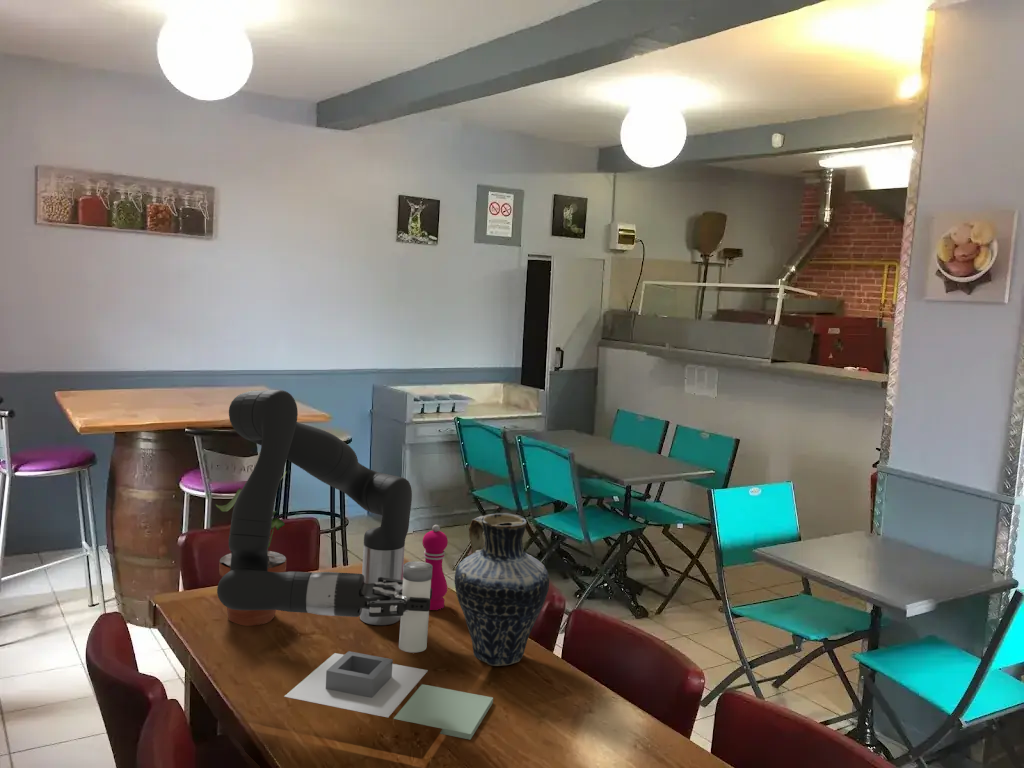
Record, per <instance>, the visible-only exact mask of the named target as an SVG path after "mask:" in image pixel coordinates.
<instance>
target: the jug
mask: <svg viewBox="0 0 1024 768" xmlns="http://www.w3.org/2000/svg"><path fill="white" fill-rule="evenodd" d="M526 527H527V519H526V518H525V517H524V516H521V515H518V514H513V513H511V512H496V513H491V514H490V513H489V514H485V515H480V516H477V517H475V518H471V522H470V524H469V527H468V536H469V540H470V541H469V542H470V546H471V554H470V555H468V556H466V557H464V559H462V560H461V561H460V562H459V564H458V565H457V567H456V570H455V573H454V587H455V593H456V597H457V601H458V604H459V606H460V608H461V611H462V612H463V613H462V614H463V616H464V620H465V623H466V626H467V628H468V629H467V630H468V633H469V636H470V639H471V643H472V652H473V657H475V658H476V659H477V660H479V661H481V662H483V663H487V665H488V666H494V667H501V666H509V665H513V664H516V663H519V662H520V661H521V660H522V658H523V655H524V654H525V650H526V646H527V644H528V643H527V642H528V639H529V636H530V634H531V632H532V629H533V628H534V625H535V623H536V621H537V618H538V617H539V615H540V613H541V611H542V609H543V607H544V604H545V601H546V598H547V596H548V592H549V589H550V575H549V571H548V570H547V568H546V566H545V565H544V564H543V563H542V562H541V561H540V560H539V559H537V558H535V557H534V556H533V555H530V554H528V553H527V552H525V549H524V545H523V537H524V535H525V530H526ZM483 534H484V536H483Z"/></svg>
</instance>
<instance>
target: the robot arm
mask: <svg viewBox="0 0 1024 768" xmlns="http://www.w3.org/2000/svg"><path fill="white" fill-rule="evenodd" d="M297 405H298V404H297V402H296V399H295V398H294V396H293V395H292V394H290V392H288V391H285V390H282V389H268V390H264V389H263V390H249V391H246V392H242V393H240V394H239V395H237V396H236V397H234V398H233V400H232V401H231V402H230V405H229V408H228V417H229V422H230V424H231V426H232V428H233V430H234V431H235V432H236V434H238V435H239V436H240V437H241V438H244V439H245V440H248V441H250V442H253V443H254V444H257V445H259V446H260V452H259V455H258V459H257V461H256V464H255V466H254V468H253V470H252V472H251V474H250V475H249V477H248V479H247V480H246V482H245V484H244V485H243V486H242V489H241V492H240V493H239V495H238V497H237V500H236V502H235V504H234V505H233V507H232V509H233V510H232V512H231V513H232V514H231V521H230V528H229V536H228V549H229V551H230V553H232V556H231V566H230V572H228V573H226V574H225V575H224V576H223V577H222V576H221V579H220V580H219V582H218V584H217V587H216V588H217V589H216V593H217V597H218V600H219V601H220V603H221V604H222V605H223V606H224V607H226V608H227V607H228V608H230V609H233V610H276V611H282V612H289V613H301V614H302V613H303V614H305V613H306V614H307V613H308V614H313V615H318V616H332V617H350V618H352V617H353V618H358V617H359V620H361V621H362V622H364V623H366V624H368V625H374V626H387V625H393V624H395V623H398V622H399V621H400V619H401V616H403V613H404V612H408V610H409V611H426V612H427V611H429V610H430V600H431V598H432V588H431V589H430V599H429V598H418V597H410V598H409V597H405V596H402V588H403V565H404V564H405V548H406V546H405V544H406V538H407V536H408V535H407V534H408V532H409V527H410V517H411V512H412V511H411V509H412V500H413V494H412V493H413V492H412V486H411V484H410V482H409V480H408V479H407V478H405V477H402V476H397V475H393V474H387V473H383V472H379V471H375V470H373V469H370V468H368V467H367V466H364V465H363V464H361V463H360V462H359V460H358V456H357V454H356V452H355V450H354V449H353V448H352V447H351V446H350V445H349V444H347V443H346V442H345V441H344V440H342V439H340V438H339V437H337V436H336V435H334V434H333V433H332V432H331V433H330V432H328V431H326V430H323V429H321V428H318V427H315V426H311V425H308V424H304V423H303V422H302V423H301V422H298V415H299V414H298V406H297ZM287 460H288V461H289V462H290V463H291V464H294V465H295V466H296V467H299V468H300V469H301V470H303V471H305V472H306V473H307V474H309V475H311V476H313V477H314V478H315V479H317V480H319V481H320V482H322V483H324V484H326V485H328V486H330V487H332V488H333V489H336V490H339V491H341V492H343V493H344V494H346V495H347V496H348V497H349V498H350V499H352V500H353V502H355V503H356V504H358V506H360V508H362V509H364V510H365V511H367V512H369V513H371V514H376V515H380V516H381V523H380V526H376V527H371V528H369V529H368V530H366V531H365V532H364V534H363V535H364V536H363V546H362V547H363V550H362V567H361V568H362V569H361V573H352V572H338V571H337V572H334V571H320V572H319V571H318V572H309V571H286V572H268V551H269V550H268V549H269V548H268V544H269V541H270V538H271V533H272V532H271V525H272V518H274V516H273V511H275V510H274V509H275V503H276V499H277V494H278V489H279V485H280V482H281V480H282V479H281V478H282V477H283V474H284V470H285V466H286V463H287ZM429 612H430V611H429Z"/></svg>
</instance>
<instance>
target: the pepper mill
mask: <svg viewBox="0 0 1024 768" xmlns="http://www.w3.org/2000/svg"><path fill="white" fill-rule="evenodd" d="M431 528H432V529H431V530H429V531H428V532H426V533H425V534H424V535H423V538H422V546H423V548H424V551H423V553H424V554H423V558H424V559H425V561H424V562H426V563H429V564H431V565H432V566H433V567H432V578H431V588H432V598H431V600H430V610H436V611H439V610H438V609H440V610H442V609H444V608H445V598H444V596H445V595H446V594H447V593H448V583H447V579H446V576H445V575H444V570H443V561H444V559H445V557H446V556H445V554H446V552H445V550H446V548H447V546H448V545H449V544H448V543H449V542H448V537H447V535H446V533H444V532H443V531H441V530H440V528H441V527H440V526H439V525H438V524H434V525H433V526H432V527H431ZM441 608H442V609H441Z"/></svg>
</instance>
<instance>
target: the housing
mask: <svg viewBox="0 0 1024 768" xmlns="http://www.w3.org/2000/svg"><path fill="white" fill-rule="evenodd" d="M393 660H394V659H393V658H388V657H383V656H377V655H372V654H365V653H361V652H354V651H350V650H348V651H347V652H346V653H345V654H343V653H336V652H334V653H333V654H332V655H331V656H330V657H328V658H327V659H326V660H324V662H323V663H321V664H320V665H318V667H317V668H315V669H314V670H313V671H312V672H311V673H310V674H309V675H307V676H306V677H305V678H304V679H302V681H300V682H299V683H298V684H297V685H295V686H294V687H293V688H292V689H290V691H289V692H287V694H285V695H284V696H283V697H284V698H287V699H288V698H289V699H292V700H293V699H294V700H299V701H303V702H304V701H305V702H308V703H314V704H319V705H323V706H328V707H333V708H337V709H342V710H343V709H344V710H348V711H353V712H359V713H362V714H369V715H372V716H379V717H385V718H390V716H391V715H392V713H394V712H395V710H396V709H398V707H399V706H400V704H401V703H402V702H403V701H404V699H405V698H406V697H407V696H408V695H409V694H410V692H411V691H412V690H413V689H414V688H415V687H416V685H418V683H419V682H420V681H421V679H422V678H423V677H424V676H425V675H426V673H428V671H429V670H428V669H423V668H417V667H413V666H409V665H408V666H407V665H401V664H397V663H393Z"/></svg>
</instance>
